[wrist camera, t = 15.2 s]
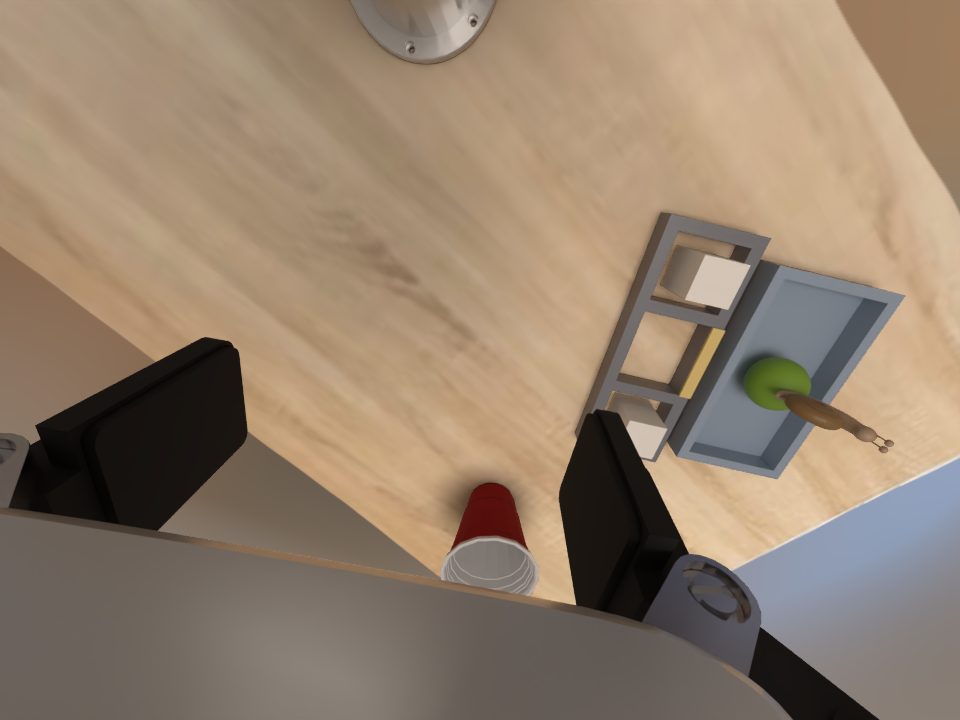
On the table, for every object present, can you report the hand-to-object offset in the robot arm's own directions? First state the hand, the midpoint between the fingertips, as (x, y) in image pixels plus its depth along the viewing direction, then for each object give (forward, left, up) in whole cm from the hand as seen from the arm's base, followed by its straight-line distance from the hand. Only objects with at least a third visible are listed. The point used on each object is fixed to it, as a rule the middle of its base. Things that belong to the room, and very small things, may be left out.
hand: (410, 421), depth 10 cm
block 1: (+14, +21, -32) cm, 40 cm away
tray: (+6, +33, -32) cm, 46 cm away
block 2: (-3, +21, -32) cm, 38 cm away
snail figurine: (+6, +33, -31) cm, 45 cm away
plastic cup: (+32, +9, -32) cm, 46 cm away
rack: (+6, +21, -32) cm, 38 cm away
